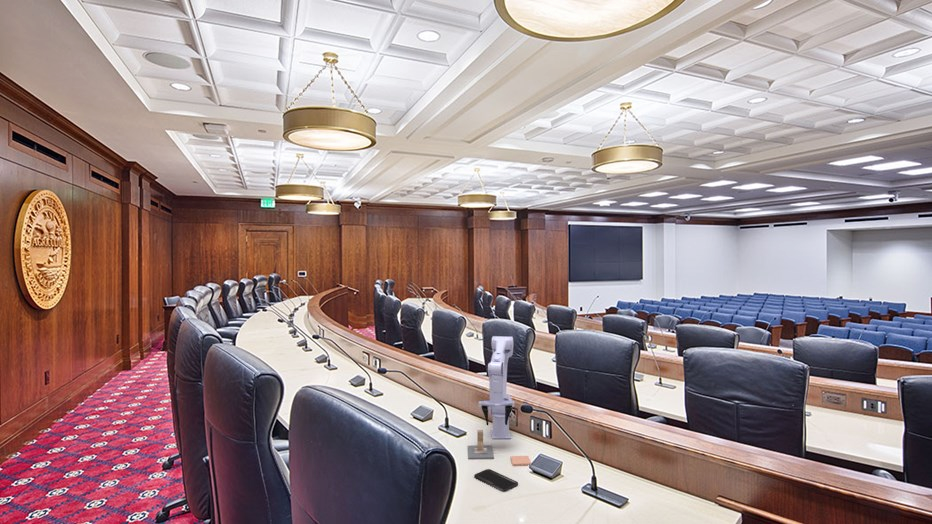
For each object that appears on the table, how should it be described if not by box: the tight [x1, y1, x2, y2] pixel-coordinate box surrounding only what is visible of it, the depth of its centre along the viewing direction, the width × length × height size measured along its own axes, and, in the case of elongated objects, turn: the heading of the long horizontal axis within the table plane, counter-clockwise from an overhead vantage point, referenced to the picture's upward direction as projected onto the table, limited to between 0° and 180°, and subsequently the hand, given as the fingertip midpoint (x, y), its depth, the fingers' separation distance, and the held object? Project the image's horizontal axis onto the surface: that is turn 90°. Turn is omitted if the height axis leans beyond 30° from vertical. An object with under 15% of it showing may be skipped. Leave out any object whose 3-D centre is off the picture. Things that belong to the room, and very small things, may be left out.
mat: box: [467, 444, 495, 460], centre depth 180 cm, size 12×10×1 cm
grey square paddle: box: [474, 429, 487, 455], centre depth 179 cm, size 5×5×8 cm
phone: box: [473, 468, 519, 493], centre depth 156 cm, size 8×1×15 cm
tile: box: [509, 455, 532, 467], centre depth 171 cm, size 1×7×7 cm
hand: (496, 424), depth 184 cm, fingers open, 7 cm apart
